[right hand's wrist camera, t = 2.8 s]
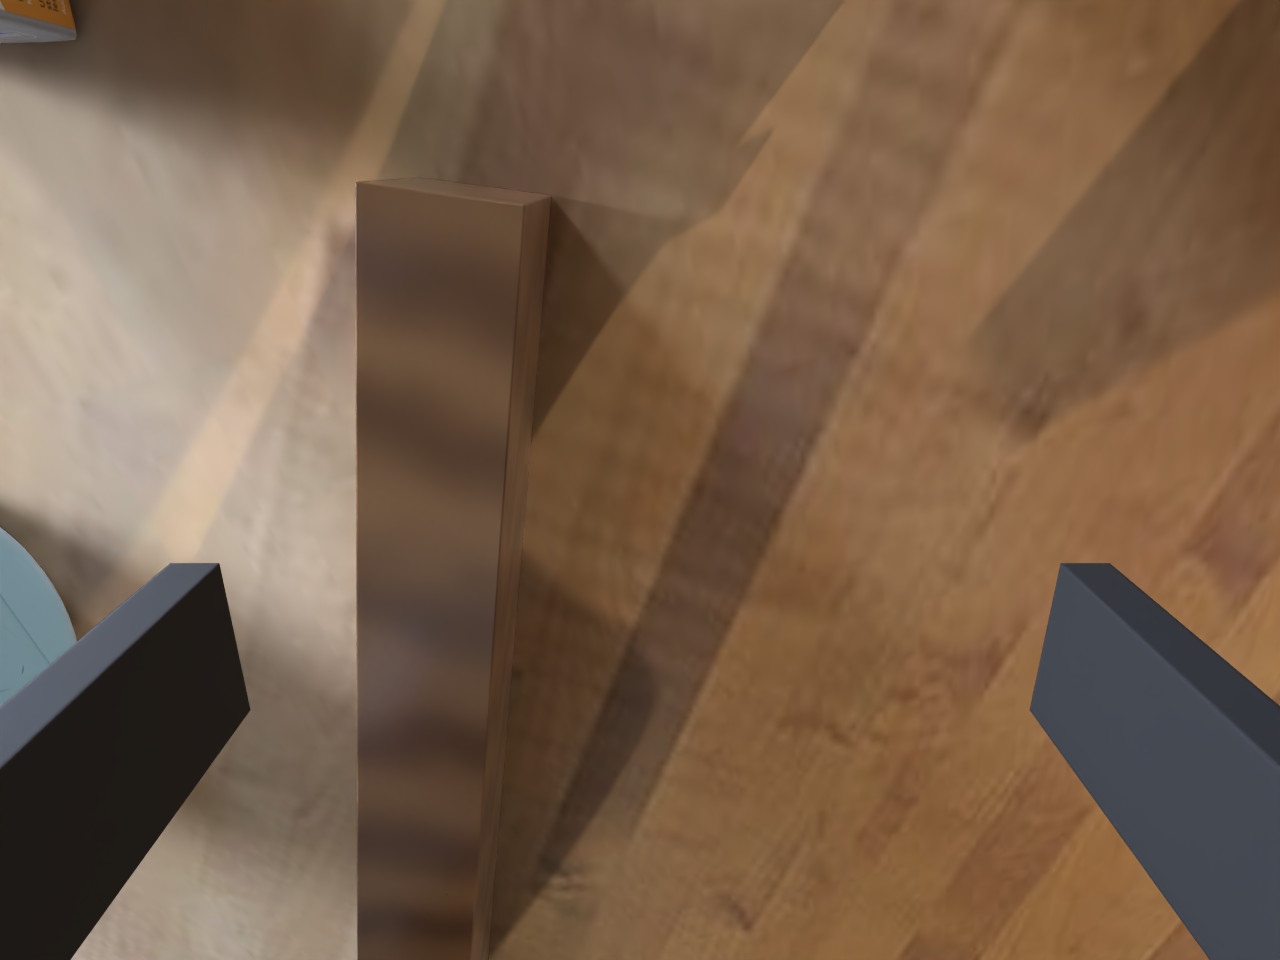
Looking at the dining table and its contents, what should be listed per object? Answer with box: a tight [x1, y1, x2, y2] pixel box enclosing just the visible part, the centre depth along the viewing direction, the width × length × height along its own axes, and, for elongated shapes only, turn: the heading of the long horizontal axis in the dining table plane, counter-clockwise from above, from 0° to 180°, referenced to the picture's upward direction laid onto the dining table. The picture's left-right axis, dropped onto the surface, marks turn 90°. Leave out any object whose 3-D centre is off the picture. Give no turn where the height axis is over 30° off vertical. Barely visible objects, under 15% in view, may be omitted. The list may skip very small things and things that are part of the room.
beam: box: [355, 177, 551, 960], centre depth 42 cm, size 58×6×8 cm, turn 173°
